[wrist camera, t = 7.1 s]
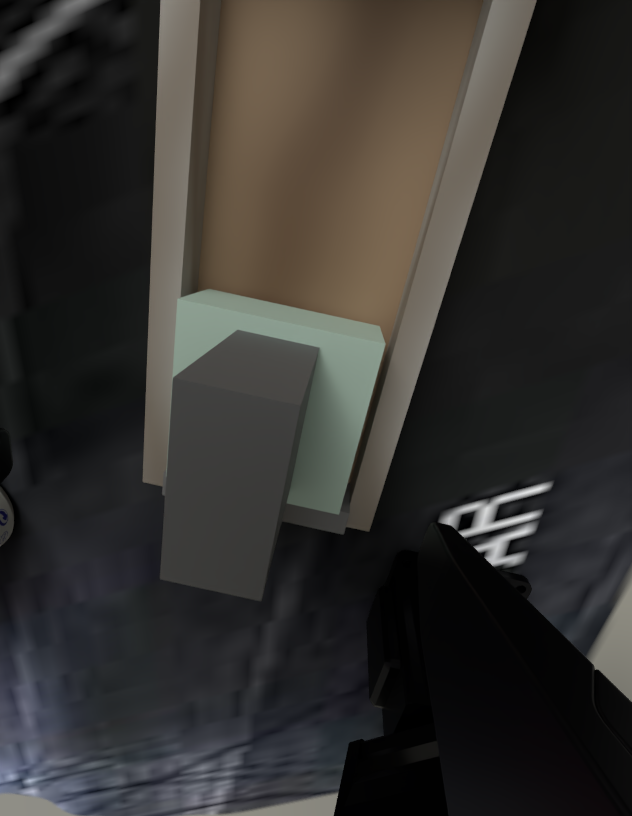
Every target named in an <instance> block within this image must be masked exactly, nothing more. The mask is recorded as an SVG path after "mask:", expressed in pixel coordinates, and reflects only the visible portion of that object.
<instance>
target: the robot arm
mask: <svg viewBox="0 0 632 816" xmlns="http://www.w3.org/2000/svg"><path fill="white" fill-rule="evenodd" d="M12 466H13V458H12V450H11V441H10V435H9V433H8V431H7V430H5V429H3V428H0V484H1V483H2V482H3V480H4V479H5V478H6V477H7V476H8V475H9V473H10V471H11V469H12ZM405 560H409V561H410V562H408V563H404V562H403V561H405ZM517 586H520V587H517ZM531 590H532V588H531V585H530V583H529V581H528V579H527V578H526V577H524V576H522V575H518V574H513V573H508V572H504V571H499V570H496V569H495V568H494V567H493V566H492V565H491V564H490V563H489V562H488V561H487V560H486V559H485V558H484V557H483V556H482V555H481V554H480V553H479V552H478V551H477V550H476V549H475V548H474V547H473V546H472V545H471V544H470V543H469V542H468V541H467V540H466V539H465V538H464V537H463V536H462V535H460V534H459V533H458V532H457V531H456V530H455V529H454V528H453V527H452V526H450V525H446V524H441V523H437V522H433V523H431V524H430V525H429V527H428V529H427V532H426V535H425V537H424V540H423V542H422V545H421V548H420V550H419V553H418V552H413V551H407V550H404V551H401V552H399V553H398V554H397V555H396V557H395V560H394V563H393V566H392V568H391V571H390V574H389V577H388V580H387V582H386V585H382V586H381V587H380V588H378V591H377V594H376V597H375V600H374V602H373V605H372V608H371V611H370V614H369V617H368V620H367V646H368V673H369V699H370V701H371V702H372V704H373V706H374V707H379V708H382V713H383V729H384V736H381V737H377V738H374V739H370V740H367V741H364V740H363V739H360V740H356V741H353V742H350V743H349V746H348V751H347V755H346V760H345V765H344V770H343V774H342V779H341V784H340V789H339V793H338V798H337V803H336V807H335V812H334V816H632V702H631V701H630V700H629V699H628V698H627V697H626V696H625V695H624V694H623V693H622V692H621V691H620V690H618V688H617V687H616V686H615V685H614V684H613V683H611V681H609V680H608V679H607V678H606V677H605V676H604V675H603V674H602V673H601V672H600V671H599V670H595V668H594V665H593V664H592V663H591V662H590V661H589V660H588V659H587V658H586V657H585V656H584V655H583V654H582V653H581V652H580V651H579V650H578V649H577V648H576V647H575V646H574V645H573V644H572V643H571V642H570V641H569V640H568V639H567V638H566V637H565V636H564V635H562V634H561V633H560V632H559V631H558V630H557V629H556V628H555V627H554V626H553V625H552V624H551V623H550V622H549V621H548V620H547V619H546V618H545V617H544V616H543V615H542V614H541V613H540V612H539V611H538V610H537V609H536V608H535V607H534V606H533V605H532V604H531V603H530V602H529V601H528V600H527V598H528V596H529V594H530V593H531Z"/></svg>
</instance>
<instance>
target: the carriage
mask: <svg viewBox="0 0 632 816" xmlns="http://www.w3.org/2000/svg"><path fill="white" fill-rule="evenodd" d="M384 348H385V341H384V338H383V335H382V332H381V328H380V326H377V325H372V324H368V323H363V322H359V321H354V320H350V319H345V318H340V317H336V316H331V315H327V314H322V313H318V312H313V311H308V310H304V309H299V308H295V307H290V306H286V305H281V304H276V303H272V302H267V301H263V300H258V299H253V298H249V297H244V296H240V295H235V294H231V293H226V292H221V291H217V290H212V289H207V290H203V291H200V292H197V293H194V294H191V295H187V296H184V297H181V298H178V299H177V312H176V328H175V344H174V359H173V375H172V391H171V406H170V422H169V438H168V453H167V469H166V490H165V506H164V522H163V537H162V553H161V568H160V579H161V580H166V581H170V582H175V583H179V584H184V585H188V586H193V587H198V588H202V589H207V590H211V591H216V592H220V593H225V594H229V595H234V596H238V597H243V598H247V599H252V600H257V601H262V597H263V593H264V589H265V585H266V581H267V577H268V573H269V569H270V566H271V562H272V558H273V554H274V550H275V546H276V542H277V538H278V534H279V530H280V527H281V523H282V519H283V515H284V511H285V507H286V503H288V504H292V505H297V506H301V507H306V508H310V509H315V510H320V511H324V512H329V513H333V514H338V515H339V513H340V509H341V506H342V502H343V498H344V495H345V491H346V487H347V484H348V480H349V476H350V473H351V469H352V465H353V462H354V458H355V454H356V451H357V447H358V443H359V440H360V436H361V432H362V429H363V425H364V421H365V418H366V414H367V410H368V407H369V403H370V399H371V396H372V392H373V388H374V385H375V381H376V377H377V374H378V370H379V366H380V363H381V359H382V355H383V352H384Z"/></svg>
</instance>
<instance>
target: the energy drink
mask: <svg viewBox="0 0 632 816" xmlns="http://www.w3.org/2000/svg"><path fill="white" fill-rule="evenodd" d="M13 526H14V510H13V507H12V503H11V501H10V499H9V498H8V496H7V494H6V493H5V491H4V490H3V489H2V487H1V486H0V546H1V545H2V544H4V543H5V542H6V541H7V540H8V539H9V537H10V535H11V533H12V531H13Z"/></svg>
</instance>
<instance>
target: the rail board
mask: <svg viewBox="0 0 632 816" xmlns="http://www.w3.org/2000/svg"><path fill="white" fill-rule="evenodd" d="M536 1H537V0H161V6H160V33H159V59H158V86H157V113H156V139H155V166H154V193H153V220H152V246H151V273H150V300H149V327H148V353H147V380H146V407H145V433H144V460H143V482H145V483H150V484H154V485H159V486H163V490H162V495H165V490H166V469H167V453H168V438H169V422H170V406H171V391H172V375H173V359H174V344H175V328H176V312H177V299H178V298H181V297H184V296H187V295H191V294H194V293H197V292H200V291H203V290H207V289H212V290H217V291H221V292H226V293H231V294H235V295H240V296H244V297H249V298H253V299H258V300H263V301H267V302H272V303H276V304H281V305H286V306H290V307H295V308H299V309H304V310H308V311H313V312H318V313H322V314H327V315H331V316H336V317H340V318H345V319H350V320H354V321H359V322H363V323H368V324H372V325H377V326H380V328H381V332H382V335H383V338H384V341H385V348H384V352H383V355H382V359H381V363H380V366H379V370H378V374H377V377H376V381H375V385H374V388H373V392H372V396H371V399H370V403H369V407H368V410H367V414H366V418H365V421H364V425H363V429H362V432H361V436H360V440H359V443H358V447H357V451H356V454H355V458H354V462H353V465H352V469H351V473H350V476H349V480H348V484H347V487H346V491H345V495H344V498H343V502H342V506H341V509H340V513H339V515H338V514H333V513H329V512H324V511H320V510H315V509H310V508H306V507H301V506H297V505H292V504H288V503H286V507H285V511H284V515H283V519H282V521H283V522H288V523H292V524H297V525H301V526H306V527H310V528H315V529H320V530H324V531H329V532H333V533H338V534H342V535H344V532H345V528H346V527H350V528H354V529H359V530H363V531H368V532H369V530H370V527H371V524H372V521H373V518H374V515H375V511H376V508H377V505H378V502H379V499H380V496H381V492H382V489H383V486H384V483H385V480H386V477H387V473H388V470H389V467H390V464H391V461H392V458H393V454H394V451H395V448H396V445H397V442H398V438H399V435H400V432H401V429H402V426H403V423H404V419H405V416H406V413H407V410H408V407H409V404H410V400H411V397H412V394H413V391H414V388H415V385H416V381H417V378H418V375H419V372H420V369H421V366H422V362H423V359H424V356H425V353H426V350H427V347H428V343H429V340H430V337H431V334H432V331H433V328H434V324H435V321H436V318H437V315H438V312H439V309H440V305H441V302H442V299H443V296H444V293H445V290H446V286H447V283H448V280H449V277H450V274H451V270H452V267H453V264H454V261H455V258H456V255H457V251H458V248H459V245H460V242H461V239H462V236H463V232H464V229H465V226H466V223H467V220H468V217H469V213H470V210H471V207H472V204H473V201H474V198H475V194H476V191H477V188H478V185H479V182H480V179H481V175H482V172H483V169H484V166H485V163H486V160H487V156H488V153H489V150H490V147H491V144H492V141H493V137H494V134H495V131H496V128H497V125H498V122H499V118H500V115H501V112H502V109H503V106H504V102H505V99H506V96H507V93H508V90H509V87H510V83H511V80H512V77H513V74H514V71H515V68H516V64H517V61H518V58H519V55H520V52H521V49H522V45H523V42H524V39H525V36H526V33H527V30H528V26H529V23H530V20H531V17H532V14H533V11H534V7H535V4H536Z"/></svg>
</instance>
